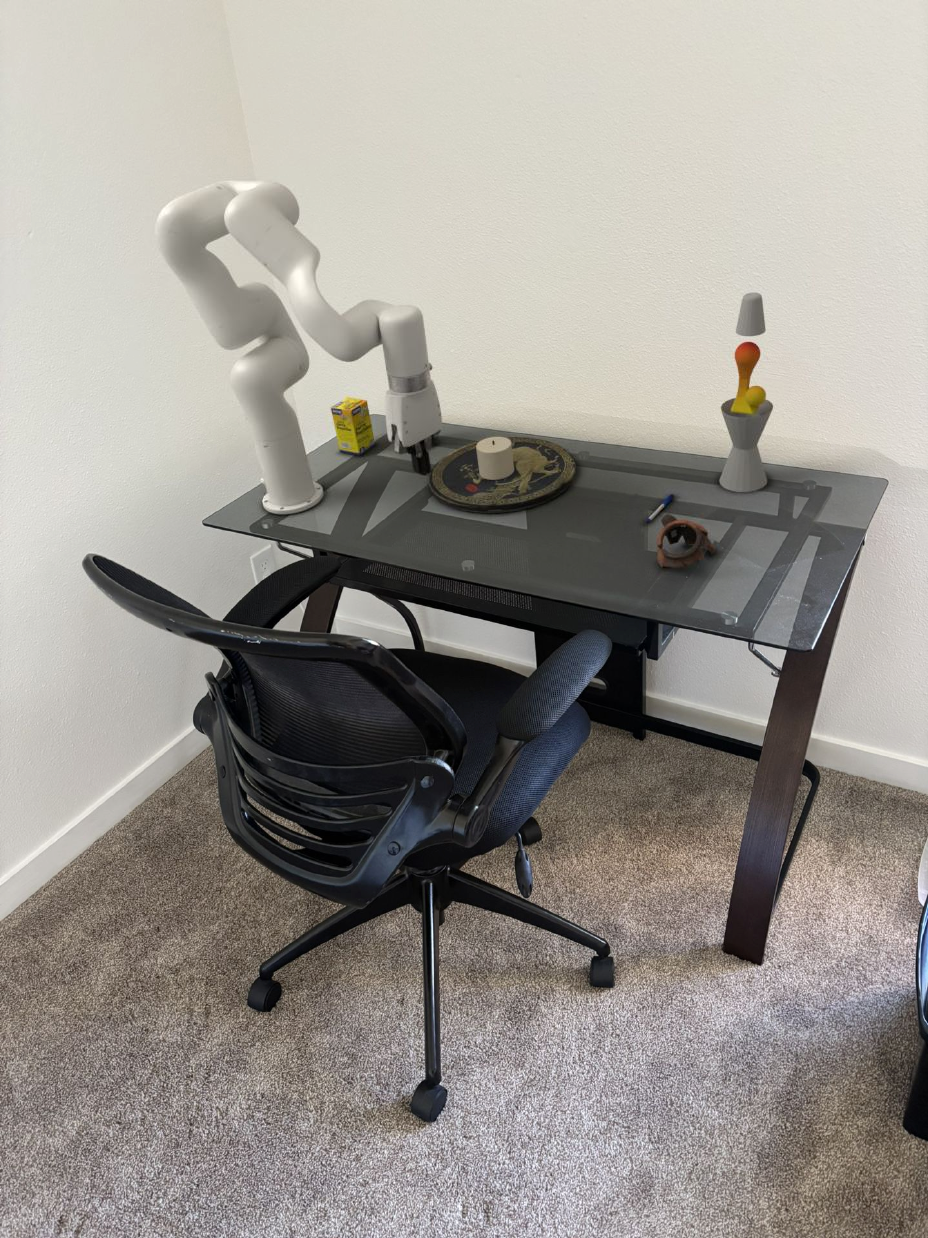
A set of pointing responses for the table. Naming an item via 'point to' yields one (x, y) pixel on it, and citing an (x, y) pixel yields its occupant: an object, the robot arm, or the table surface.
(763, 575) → the table surface
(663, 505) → the ballpoint pen
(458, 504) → the decorative plate
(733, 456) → the lava lamp
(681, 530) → the pottery mug
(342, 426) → the supplement box
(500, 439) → the candle
